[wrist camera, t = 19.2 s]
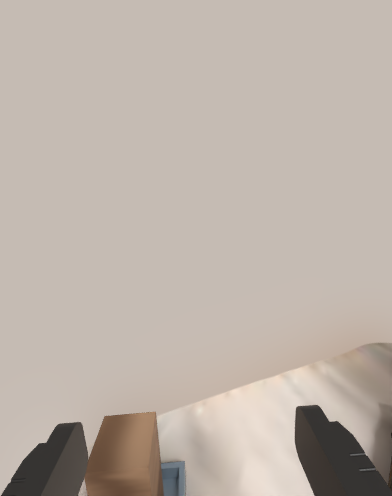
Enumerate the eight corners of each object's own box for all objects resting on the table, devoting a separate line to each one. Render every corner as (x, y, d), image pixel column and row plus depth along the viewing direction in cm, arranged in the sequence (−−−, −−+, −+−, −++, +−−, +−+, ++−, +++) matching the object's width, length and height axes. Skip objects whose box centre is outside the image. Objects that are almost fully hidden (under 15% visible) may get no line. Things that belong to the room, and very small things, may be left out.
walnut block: (164, 497, 26) (155, 411, 24) (159, 567, 21) (148, 466, 19) (117, 502, 26) (104, 416, 23) (101, 574, 21) (83, 473, 18)
